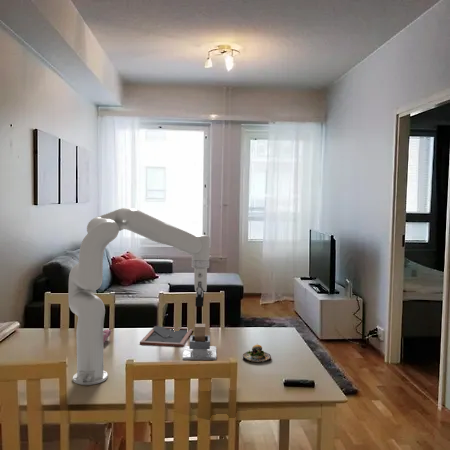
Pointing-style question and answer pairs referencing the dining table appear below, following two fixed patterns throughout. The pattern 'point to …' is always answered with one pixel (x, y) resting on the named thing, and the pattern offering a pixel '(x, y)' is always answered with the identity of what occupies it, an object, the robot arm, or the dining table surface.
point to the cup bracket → (199, 350)
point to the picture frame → (166, 336)
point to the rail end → (199, 332)
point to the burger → (256, 354)
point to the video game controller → (106, 335)
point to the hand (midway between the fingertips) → (199, 303)
